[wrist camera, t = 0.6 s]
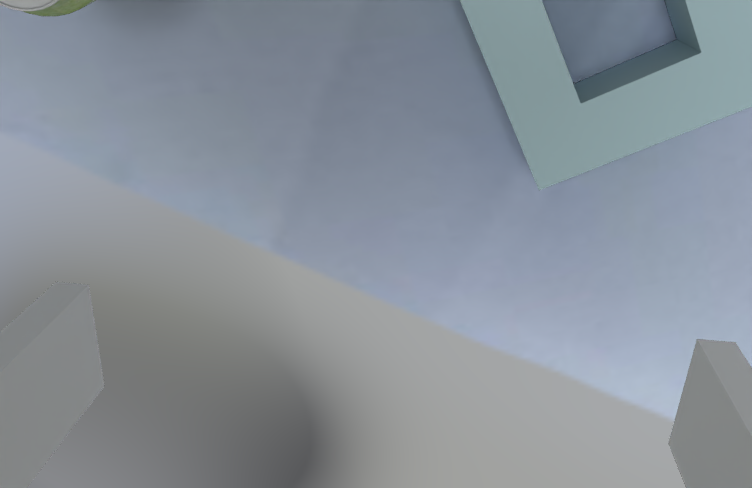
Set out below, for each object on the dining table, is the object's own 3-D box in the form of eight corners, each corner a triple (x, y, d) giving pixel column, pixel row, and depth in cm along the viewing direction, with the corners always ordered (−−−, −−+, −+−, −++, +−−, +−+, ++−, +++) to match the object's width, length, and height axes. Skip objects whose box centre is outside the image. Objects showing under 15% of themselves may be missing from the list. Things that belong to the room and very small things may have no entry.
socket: (443, -50, 34) (440, -47, 31) (692, -178, 31) (722, -192, 27) (532, 165, 38) (539, 190, 35) (762, 72, 35) (796, 88, 31)
